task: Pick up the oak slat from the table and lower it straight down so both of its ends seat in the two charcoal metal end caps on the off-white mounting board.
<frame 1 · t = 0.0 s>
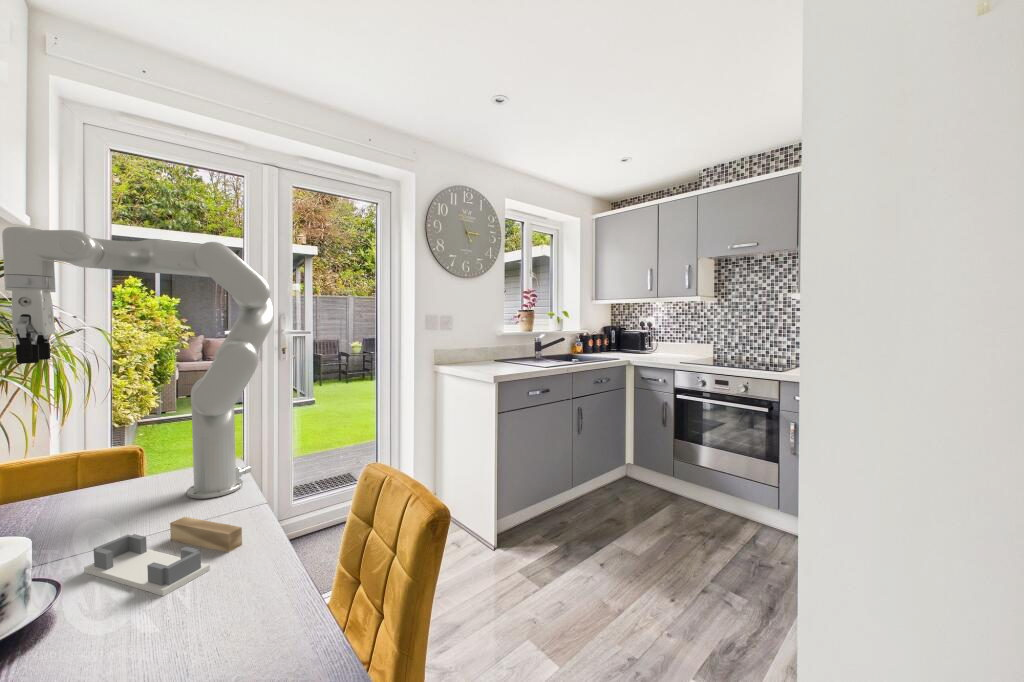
hand: (34, 361, 96), 37 cm above the table, tool pointing down, fingers open, 9 cm apart
slat: (206, 543, 90), on the table
mounting board: (147, 571, 80), on the table
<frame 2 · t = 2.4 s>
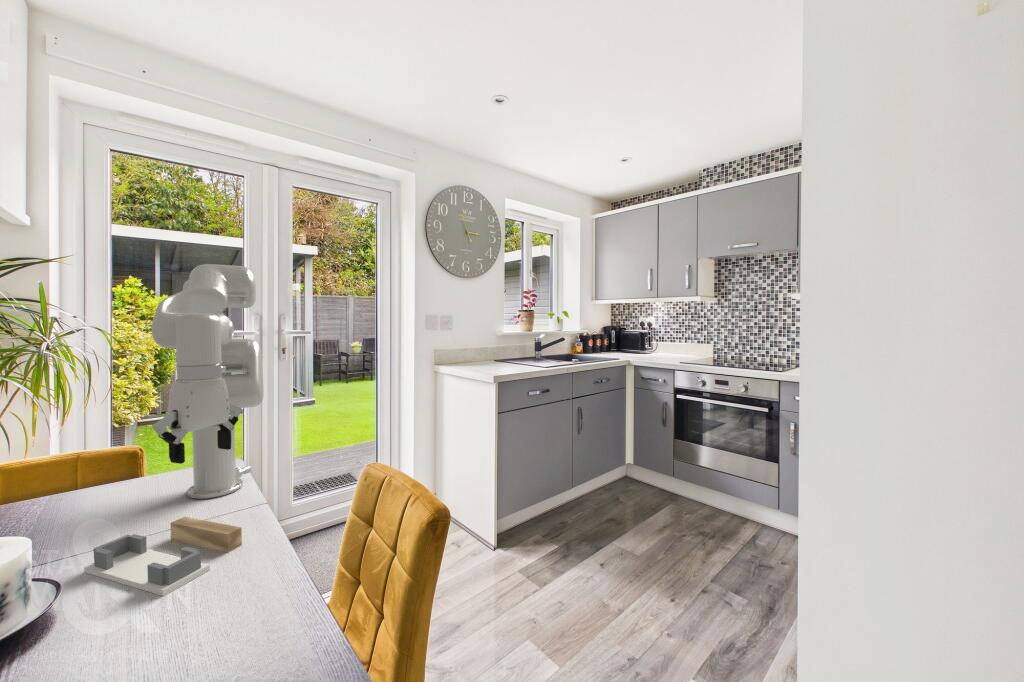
hand: (202, 455, 89), 19 cm above the table, tool pointing down, fingers open, 9 cm apart
nothing on the table moved.
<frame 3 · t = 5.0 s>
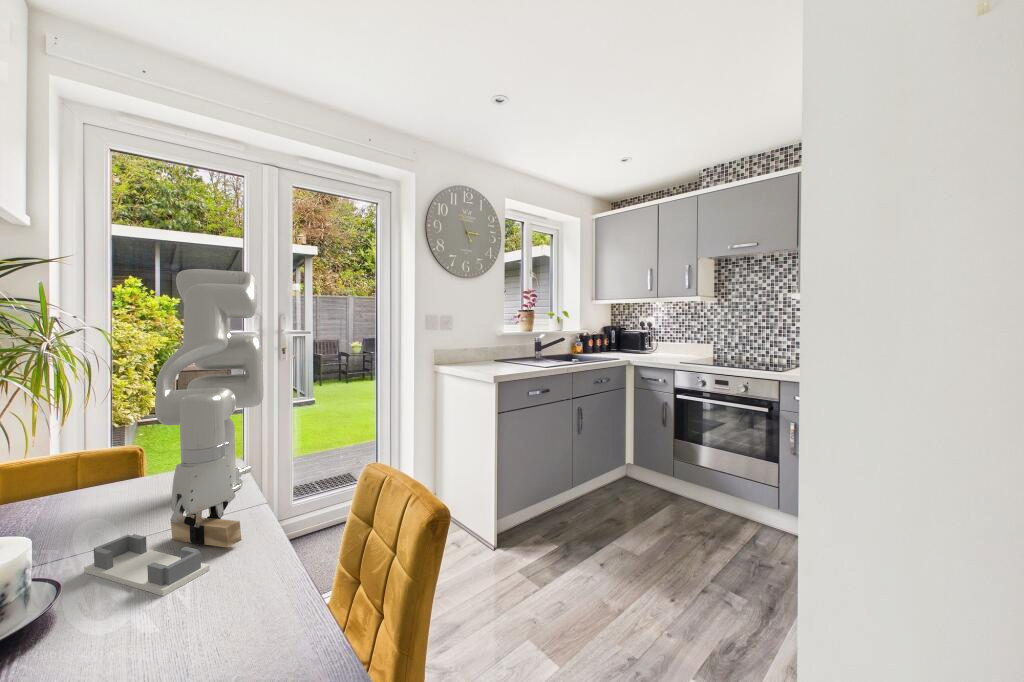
hand: (205, 538, 90), 1 cm above the table, tool pointing down, fingers closed on slat, 2 cm apart
slat: (206, 540, 90), on the table, touching gripper
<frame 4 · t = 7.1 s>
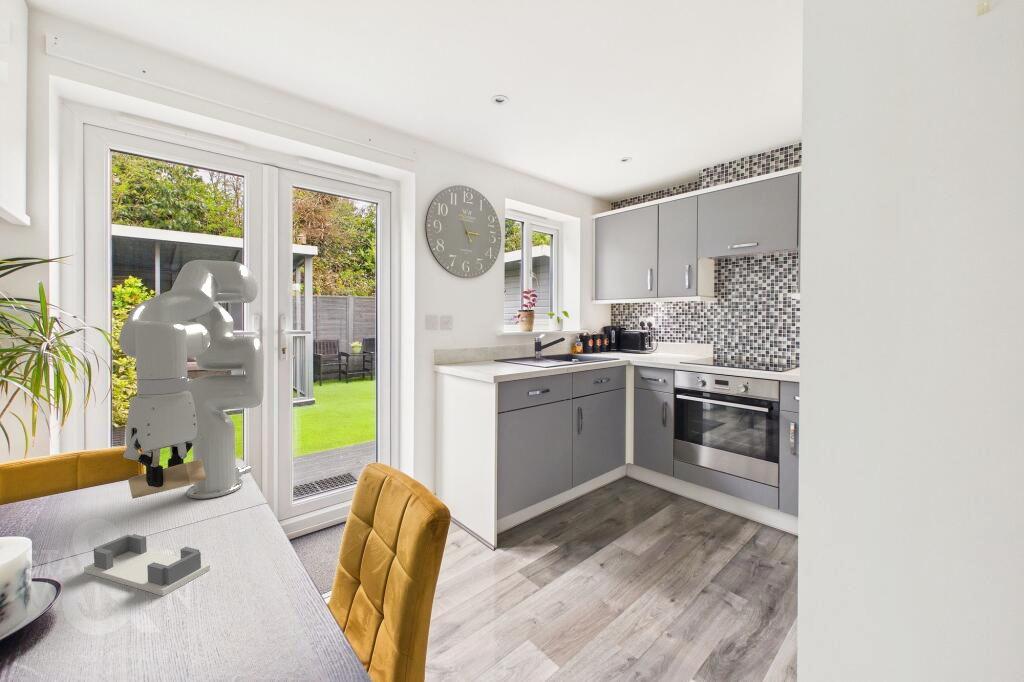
hand: (165, 481, 82), 16 cm above the table, tool pointing down, fingers closed on slat, 3 cm apart
slat: (169, 489, 82), point 14 cm above the table, tilted 17°, touching gripper
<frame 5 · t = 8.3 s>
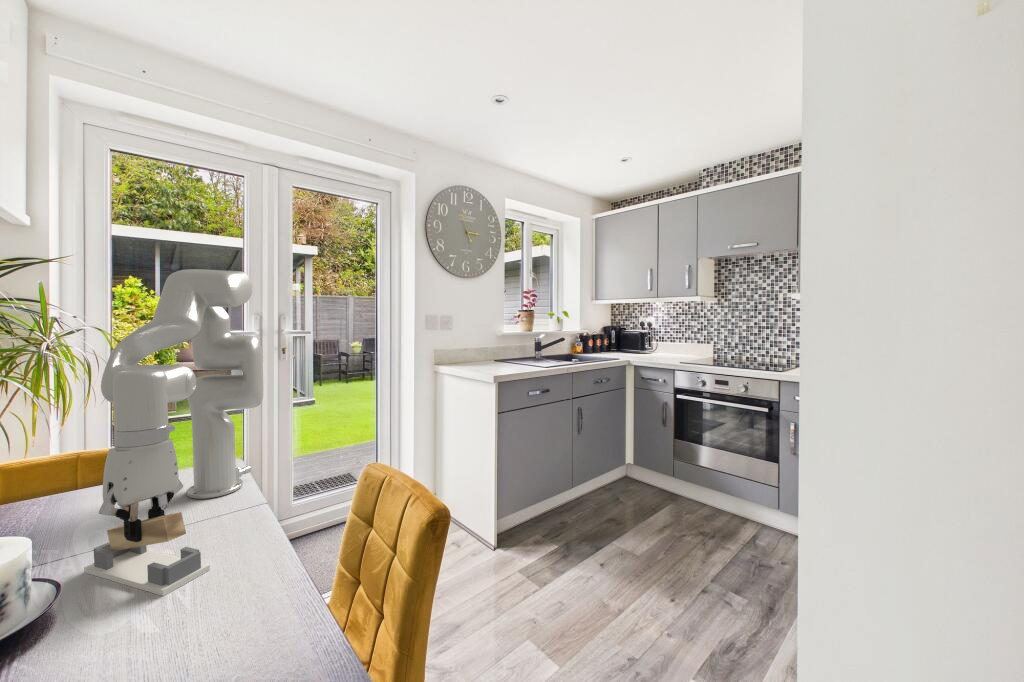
hand: (145, 534, 79), 7 cm above the table, tool pointing down, fingers closed on slat, 3 cm apart
slat: (148, 542, 79), point 6 cm above the table, tilted 17°, touching gripper
when the fingers open (4 cm above the table, at t = 9.2 s): slat drops 2 cm, resting on mounting board.
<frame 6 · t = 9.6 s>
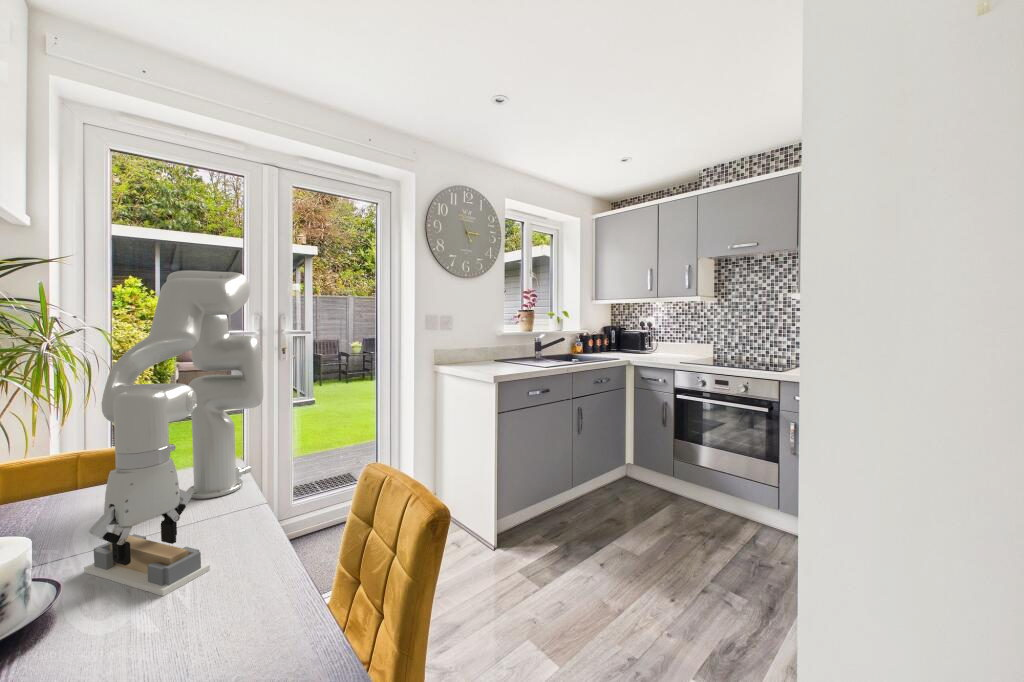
hand: (146, 551, 80), 4 cm above the table, tool pointing down, fingers open, 7 cm apart
slat: (149, 567, 79), point 1 cm above the table, touching mounting board
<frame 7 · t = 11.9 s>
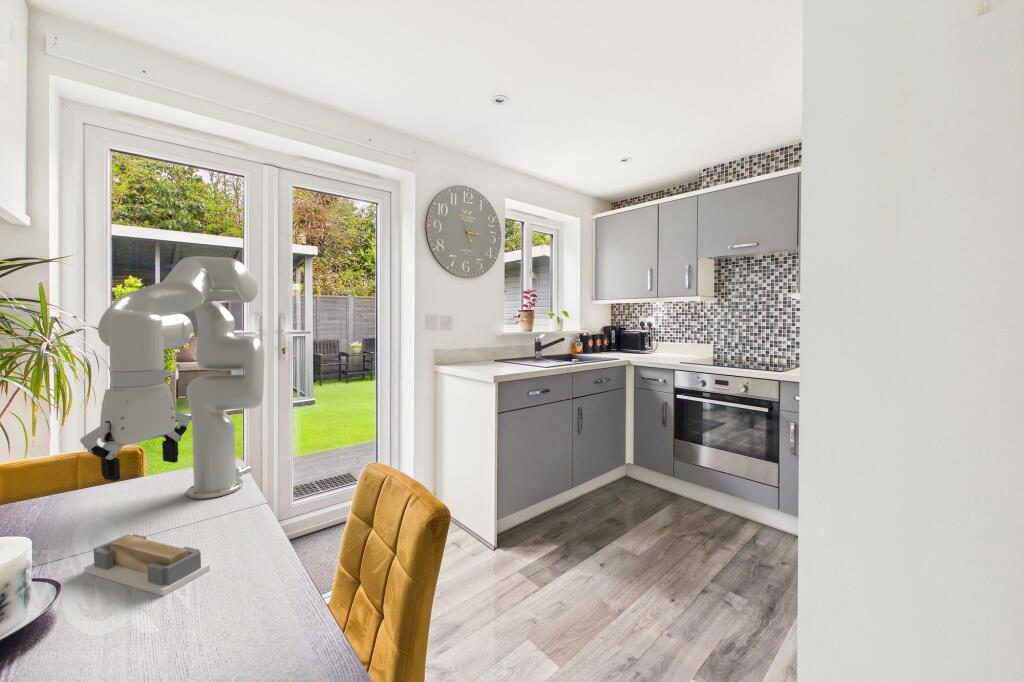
hand: (142, 470, 80), 19 cm above the table, tool pointing down, fingers open, 9 cm apart
nothing on the table moved.
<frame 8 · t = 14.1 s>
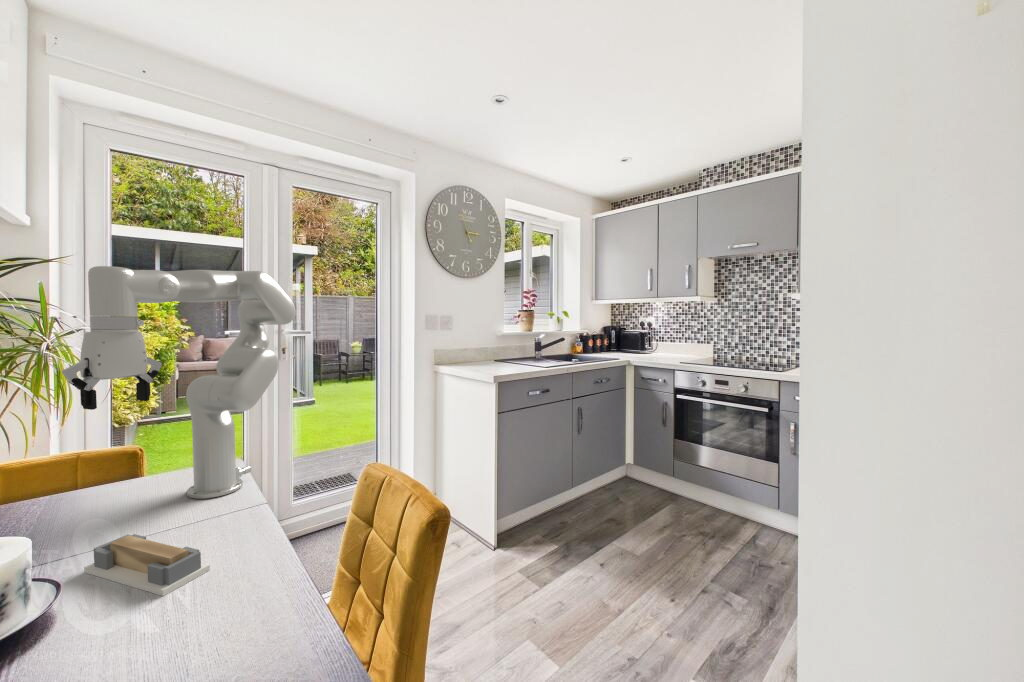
hand: (117, 404, 92), 28 cm above the table, tool pointing down, fingers open, 9 cm apart
nothing on the table moved.
at the end: slat 0.9 cm off-centre on the mounting board, point 1.0 cm above the mounting board's base; slat tilted 0°; the gripper is holding nothing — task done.
